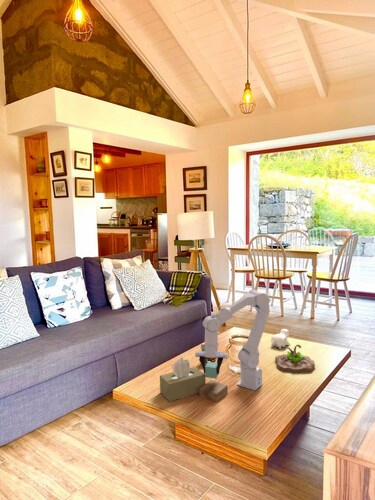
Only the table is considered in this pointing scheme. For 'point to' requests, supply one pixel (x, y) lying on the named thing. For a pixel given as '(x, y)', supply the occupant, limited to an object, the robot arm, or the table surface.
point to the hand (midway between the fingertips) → (211, 373)
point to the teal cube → (211, 370)
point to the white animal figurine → (280, 339)
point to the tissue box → (181, 381)
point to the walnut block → (213, 390)
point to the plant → (294, 362)
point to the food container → (206, 357)
